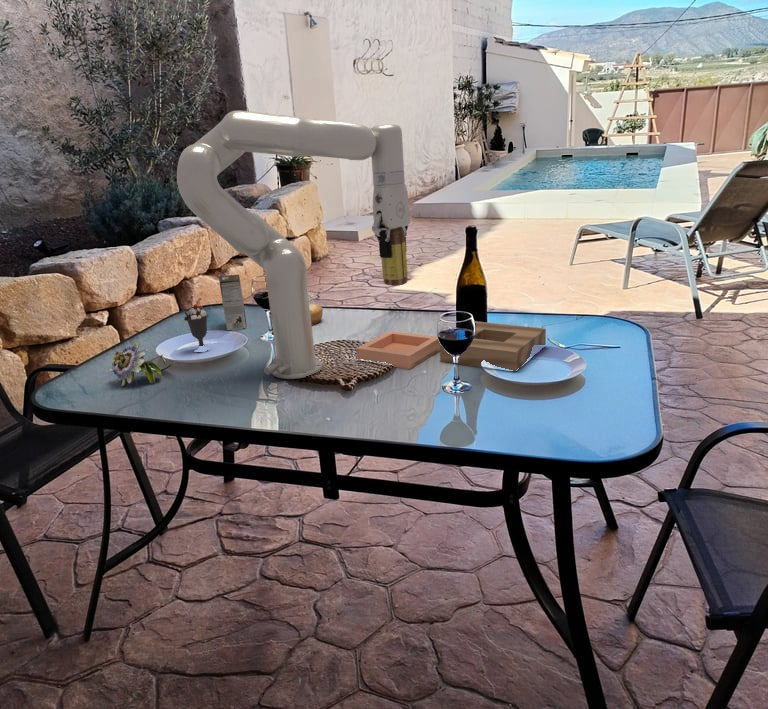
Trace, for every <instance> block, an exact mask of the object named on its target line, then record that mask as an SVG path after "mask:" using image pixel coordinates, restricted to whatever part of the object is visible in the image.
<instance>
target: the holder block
mask: <svg viewBox="0 0 768 709" xmlns="http://www.w3.org/2000/svg"><path fill="white" fill-rule="evenodd" d="M474 321H475V320H474ZM475 323H476V330H475V337H474V339H473V341H472V343H471V345H470V346H469V348H468V349H467V350H466V352H464V353H463V354H462V355H461V356H460V357H459V362H458V364H457V365H463V366H468V367H469V366H470V367H477V368H482V367H481V362H482V361H483V360H485V361H486V362H489V363H490V364H492V365H495V366H497V367H501V368H505V369H509V370H513V371H516V370H517V369H518V368H520V367H521V366H522V365H523V364H524V363H525V362H526V361H527V359H528V358H529V357H530V354H531V351H532V347H533V346H534V345H546V344H547V343H546V338H547V337H546V336H547V334H546V333H547V328H543V327H533V326H523V325H516V324H515V325H514V324H506V323H505V324H504V323H495V322H484V321H477V320H476V321H475ZM439 358H440V360H439V361H440V362H442V363H447V364H449V363H450V364H454V363H453V357H452V356H451V355H450V354H448V353H447V352H446V351H445V350H444V348H443V347H442V346H441V345H440V351H439ZM521 368H522V367H521ZM521 368H520V369H521Z"/></svg>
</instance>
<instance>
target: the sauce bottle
mask: <svg viewBox="0 0 768 709" xmlns="http://www.w3.org/2000/svg"><path fill="white" fill-rule="evenodd" d="M383 228H387V227H385V226H383ZM383 232H384V234H386V231H383ZM389 241H391V248H392V257H391V258H381V267H382V269H381V271H382V279H383V282H384V283H383V284H384V285H386V286H394V287H395V286H401V285H406V284H407V283H408V282H409V281H408V276H409V274H408V262H407V243H406V244H405V236H404V230H403V228H402V227H400V228H397V229H391V231H390V238H389Z"/></svg>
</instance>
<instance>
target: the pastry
mask: <svg viewBox="0 0 768 709" xmlns="http://www.w3.org/2000/svg"><path fill="white" fill-rule="evenodd" d="M308 298H311V299H313V297H312V296H310V295H309V294H308ZM309 308H310V316H311V325H312V326H314V325H317V324H319V323H320V322H321V320H322V318H323V312H324V311H323V310H324V309H323V307H322V306H321V305H320V304H317V303H313V302H312V303H309Z"/></svg>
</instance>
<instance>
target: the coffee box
mask: <svg viewBox="0 0 768 709" xmlns="http://www.w3.org/2000/svg"><path fill="white" fill-rule="evenodd" d="M218 278H219V288H220V294H221V301H222V302H221V303H222V307H223V316H224V321H225V326H226V331H227V330H232V331H238V330H237V329H240V330H244V329H243V328H247V327H248V326H247V318H246V312H245V311H246V310H245V304H244V296H243V290H242V284H241V278H240V274H226V275H221V276H218Z"/></svg>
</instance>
